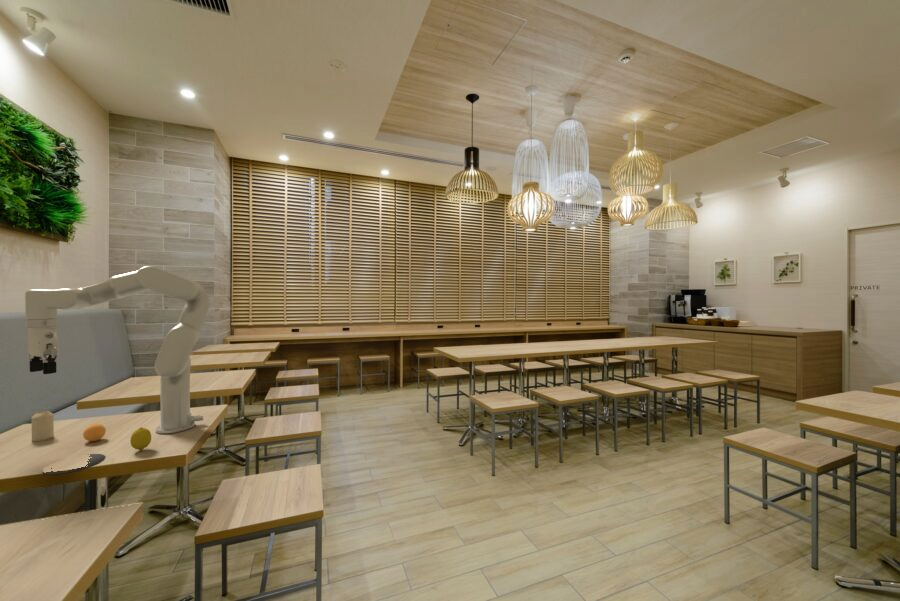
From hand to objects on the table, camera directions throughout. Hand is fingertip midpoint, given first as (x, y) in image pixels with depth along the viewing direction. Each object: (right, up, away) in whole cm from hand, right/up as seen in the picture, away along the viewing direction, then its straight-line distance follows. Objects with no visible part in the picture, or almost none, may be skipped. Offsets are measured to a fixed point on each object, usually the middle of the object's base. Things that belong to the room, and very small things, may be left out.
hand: (43, 372), depth 131 cm
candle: (-8, -26, +7) cm, 28 cm away
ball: (+13, -23, +5) cm, 27 cm away
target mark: (+25, -26, -14) cm, 39 cm away
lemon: (+38, -27, -4) cm, 46 cm away
